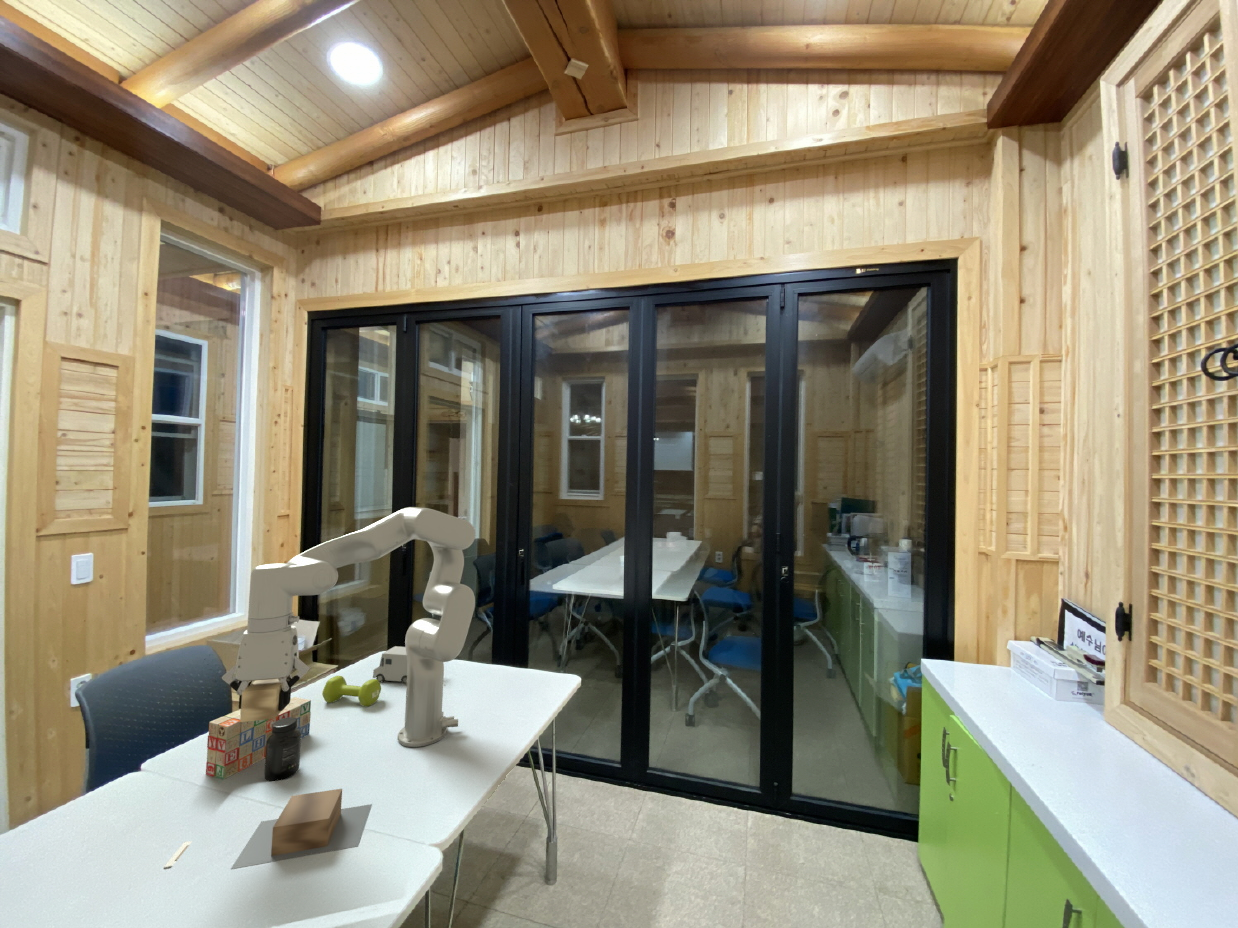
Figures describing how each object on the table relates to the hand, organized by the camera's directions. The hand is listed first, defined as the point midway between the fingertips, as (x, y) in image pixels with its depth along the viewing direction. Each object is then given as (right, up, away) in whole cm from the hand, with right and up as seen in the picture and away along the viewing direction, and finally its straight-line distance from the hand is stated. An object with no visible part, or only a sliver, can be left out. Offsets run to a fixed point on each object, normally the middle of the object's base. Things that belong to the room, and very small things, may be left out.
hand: (264, 708), depth 97 cm
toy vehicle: (-3, -25, +67) cm, 72 cm away
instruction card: (-4, -21, -11) cm, 24 cm away
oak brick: (0, -1, 0) cm, 1 cm away
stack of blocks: (-17, -23, +21) cm, 35 cm away
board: (+14, -21, -8) cm, 27 cm away
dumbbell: (-10, -24, +49) cm, 56 cm away
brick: (+14, -20, -8) cm, 26 cm away
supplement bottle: (-6, -22, +12) cm, 26 cm away
